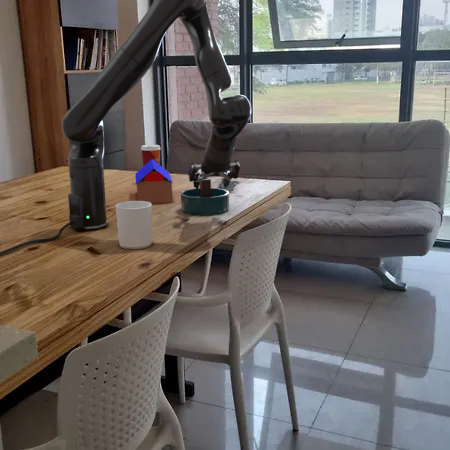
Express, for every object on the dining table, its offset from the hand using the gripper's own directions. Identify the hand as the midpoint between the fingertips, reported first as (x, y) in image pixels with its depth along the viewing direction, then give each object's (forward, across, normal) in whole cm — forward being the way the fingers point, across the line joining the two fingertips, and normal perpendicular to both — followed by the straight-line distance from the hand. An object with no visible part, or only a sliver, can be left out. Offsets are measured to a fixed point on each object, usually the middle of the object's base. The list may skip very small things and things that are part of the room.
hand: (210, 185), depth 174 cm
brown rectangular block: (+12, 0, 0) cm, 12 cm away
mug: (-9, +25, +22) cm, 35 cm away
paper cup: (+49, +10, -36) cm, 62 cm away
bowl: (+12, 0, +1) cm, 12 cm away
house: (+29, +13, -16) cm, 35 cm away
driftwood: (+35, -16, -22) cm, 45 cm away
